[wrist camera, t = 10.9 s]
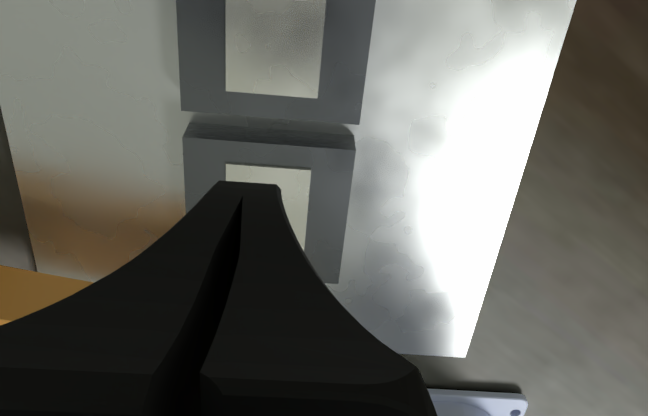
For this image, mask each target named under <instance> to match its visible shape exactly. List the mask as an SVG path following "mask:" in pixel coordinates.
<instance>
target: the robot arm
mask: <svg viewBox="0 0 648 416" xmlns="http://www.w3.org/2000/svg"><path fill="white" fill-rule="evenodd" d="M527 407H528V402H527V399H526V397H525V396H524V395H523V394H518V393H500V392H482V391H463V390H445V389H427V387H426V385H425V383H424V381H423V378H422V376H421V374H420V372H419V370H418V368H417V367H416V366H414V365H413V364H412V363H410V362H409V361H407V360H406V359H404V358H403V357H402V356H400V355H399V354H397V353H396V352H395V351H393V350H392V349H390V348H389V347H388V346H386V345H385V344H383V343H382V342H381V341H380V340H378V339H377V338H376V337H375V336H374V335H372V334H371V333H370V332H369V331H368V330H367V329H365V328H364V327H363V326H362V325H361V324H360V323H359V322H358V321H357V320H356V319H355V318H354V317H353V316H352V315H351V314H350V313H349V312H348V311H347V310H346V309H345V308H344V307H343V305H342V304H341V303H340V302H339V301H338V300H337V299H336V297H335V296H334V295H333V294H332V292H331V291H330V290H329V289H328V288H327V286H326V285H325V283H324V282H323V281H322V279H321V278H320V277H319V275H318V274H317V272H316V271H315V269H314V268H313V266H312V265H311V263H310V261H309V260H308V258H307V256H306V254H305V253H304V251H303V249H302V247H301V245H300V243H299V242H298V240H297V237H296V235H295V233H294V231H293V229H292V227H291V224H290V222H289V219H288V217H287V214H286V211H285V208H284V205H283V201H282V195H281V189H280V187H279V186H278V185H277V184H265V183H250V182H236V181H221V180H219V181H218V182H217V183H216V184H214V185H213V186H212V187H211V189H210V190H209V191H208V192H207V193H206V194H205V195H204V196H203V197H202V198H201V199H200V200H199V201H198V202H197V204H196V205H195V206H194V207H193V208H192V209H191V210H190V211H189V212H188V213H187V214H185V215H184V216H183V217H182V218H181V219H180V220H179V221H178V222H177V223H176V224H175V225H174V226H173V227H172V228H171V229H170V230H168V231H167V232H166V233H165V234H164V235H163V236H161V237H160V238H159V239H158V240H157V241H155V242H154V243H153V244H152V245H151V246H149V247H148V248H147V249H146V250H144V251H143V252H142V253H140V254H139V255H138V256H136V257H135V258H134V259H132V260H131V261H129V262H128V263H126V264H125V265H123V266H122V267H120V268H118V269H117V270H115V271H114V272H112V273H111V274H109V275H107V276H105V277H104V278H102V279H100V280H98V281H96V282H94V283H93V284H91V285H89V286H87V287H85V288H83V289H82V290H80V291H78V292H76V293H74V294H73V295H71V296H69V297H67V298H64V299H62V300H60V301H58V302H56V303H54V304H52V305H49V306H47V307H45V308H43V309H40V310H38V311H36V312H33V313H31V314H29V315H26V316H24V317H21V318H19V319H16V320H14V321H11V322H9V323H6V324H3V325H0V416H524V414H525V411H526V409H527Z"/></svg>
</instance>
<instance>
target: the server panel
mask: <svg viewBox="0 0 648 416" xmlns="http://www.w3.org/2000/svg"><path fill="white" fill-rule="evenodd" d="M575 3H576V0H0V106H1V110H2V115H3V119H4V124H5V128H6V133H7V137H8V142H9V146H10V151H11V155H12V160H13V164H14V169H15V173H16V177H17V182H18V186H19V191H20V195H21V200H22V204H23V209H24V213H25V218H26V222H27V227H28V231H29V236H30V240H31V245H32V249H33V253H34V258H35V262H36V267H37V271H38V272H40V273H45V274H51V275H56V276H61V277H67V278H72V279H78V280H83V281H89V282H96V281H98V280H100V279H102V278H104V277H105V276H107V275H109V274H111V273H112V272H114V271H115V270H117V269H118V268H120V267H122V266H123V265H125V264H126V263H128V262H129V261H131V260H132V259H134V258H135V257H136V256H138V255H139V254H140V253H142V252H143V251H144V250H146V249H147V248H148V247H149V246H151V245H152V244H153V243H154V242H155V241H157V240H158V239H159V238H160V237H161V236H163V235H164V234H165V233H166V232H167V231H168V230H170V229H171V228H172V227H173V226H174V225H175V224H176V223H177V222H178V221H179V220H180V219H181V218H182V217H183V216H184V215H185V214H187V213H188V212H189V211H190V210H191V209H192V208H193V207H194V206H195V205H196V204H197V202H198V201H199V200H200V199H201V198H202V197H203V196H204V195H205V194H206V193H207V192H208V191H209V190H210V189H211V187H212V186H213V185H214V184H216V183H217V182H218V181H219V180H221V181H236V182H250V183H265V184H277V185H278V186H279V187H280V189H281V195H282V201H283V205H284V208H285V211H286V214H287V217H288V219H289V222H290V224H291V227H292V229H293V231H294V233H295V235H296V237H297V240H298V242H299V243H300V245H301V247H302V249H303V251H304V253H305V254H306V256H307V258H308V260H309V261H310V263H311V265H312V266H313V268H314V269H315V271H316V272H317V274H318V275H319V277H320V278H321V279H322V281H323V282H324V283H325V285H326V286H327V288H328V289H329V290H330V291H331V292H332V294H333V295H334V296H335V297H336V299H337V300H338V301H339V302H340V303H341V304H342V305H343V307H344V308H345V309H346V310H347V311H348V312H349V313H350V314H351V315H352V316H353V317H354V318H355V319H356V320H357V321H358V322H359V323H360V324H361V325H362V326H363V327H364V328H365V329H367V330H368V331H369V332H370V333H371V334H372V335H374V336H375V337H376V338H377V339H378V340H380V341H381V342H382V343H383V344H385V345H386V346H388V347H389V348H390V349H392V350H393V351H395V352H396V353H397V354H411V355H429V356H446V357H464V358H465V356H466V353H467V350H468V347H469V344H470V340H471V337H472V334H473V331H474V328H475V324H476V321H477V318H478V315H479V312H480V308H481V305H482V302H483V299H484V295H485V292H486V289H487V286H488V283H489V279H490V276H491V273H492V270H493V267H494V263H495V260H496V257H497V254H498V250H499V247H500V244H501V241H502V238H503V234H504V231H505V228H506V225H507V222H508V218H509V215H510V212H511V209H512V205H513V202H514V199H515V196H516V193H517V189H518V186H519V183H520V180H521V177H522V173H523V170H524V167H525V164H526V160H527V157H528V154H529V151H530V148H531V144H532V141H533V138H534V135H535V132H536V128H537V125H538V122H539V119H540V116H541V112H542V109H543V106H544V103H545V99H546V96H547V93H548V90H549V87H550V83H551V80H552V77H553V74H554V71H555V67H556V64H557V61H558V58H559V54H560V51H561V48H562V45H563V42H564V38H565V35H566V32H567V29H568V26H569V22H570V19H571V16H572V13H573V9H574V6H575Z"/></svg>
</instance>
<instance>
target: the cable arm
mask: <svg viewBox="0 0 648 416" xmlns="http://www.w3.org/2000/svg"><path fill="white" fill-rule="evenodd" d="M93 283H94V282H89V281H83V280H78V279H72V278H67V277H61V276H56V275H51V274H45V273H40V272H34V271H29V270H23V269H18V268H13V267H7V266H2V265H0V325H3V324H6V323H9V322H11V321H14V320H16V319H19V318H21V317H24V316H26V315H29V314H31V313H33V312H36V311H38V310H40V309H43V308H45V307H47V306H49V305H52V304H54V303H56V302H58V301H60V300H62V299H64V298H67V297H69V296H71V295H73V294H74V293H76V292H78V291H80V290H82V289H83V288H85V287H87V286H89V285H91V284H93Z"/></svg>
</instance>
